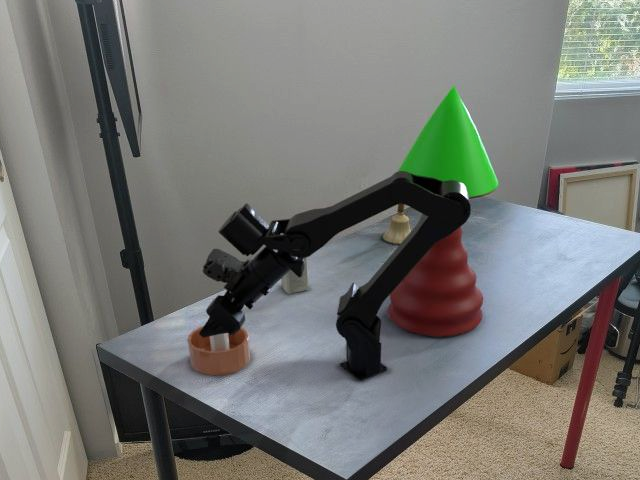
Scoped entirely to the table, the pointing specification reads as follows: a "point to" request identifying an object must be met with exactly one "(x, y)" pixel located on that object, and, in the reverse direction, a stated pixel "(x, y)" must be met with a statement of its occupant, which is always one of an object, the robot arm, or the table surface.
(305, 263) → the beige carton box
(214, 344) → the eye dropper bottle
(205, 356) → the round bowl
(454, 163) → the table lamp
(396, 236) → the hand bell
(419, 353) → the table surface
